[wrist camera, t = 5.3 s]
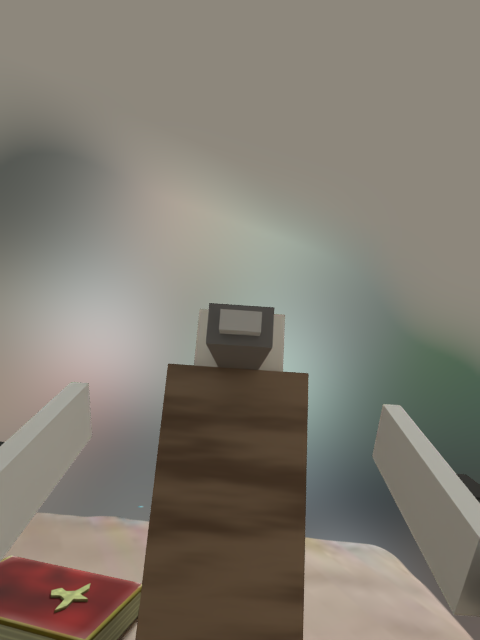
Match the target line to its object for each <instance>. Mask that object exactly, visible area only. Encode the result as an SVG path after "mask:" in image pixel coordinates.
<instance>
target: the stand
mask: <svg viewBox="0 0 480 640" xmlns="http://www.w3.org/2000/svg"><path fill="white" fill-rule="evenodd" d="M307 417H308V373H295V372H280V371H266V370H252V369H237V368H223V367H208V366H194V365H179V364H168V370H167V378H166V386H165V395H164V403H163V412H162V420H161V428H160V437H159V445H158V454H157V463H156V472H155V480H154V488H153V497H152V505H151V514H150V521H149V530H148V538H147V547H146V555H145V564H144V572H143V581H142V589H141V597H140V606H139V614H138V623H137V631H136V640H303V611H304V563H305V515H306V465H307V463H306V462H307Z"/></svg>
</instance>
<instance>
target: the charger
mask: <svg viewBox="0 0 480 640" xmlns="http://www.w3.org/2000/svg"><path fill="white" fill-rule="evenodd" d="M284 326H285V315H279V314H274V308H273V307H258V306H243V305H229V304H214V303H209V310H207V309H200V311H199V321H198V331H197V341H196V350H195V360H194V366H208V367H223V368H237V369H252V370H266V371H280V372H283V352H284Z"/></svg>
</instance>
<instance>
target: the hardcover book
mask: <svg viewBox="0 0 480 640" xmlns="http://www.w3.org/2000/svg"><path fill="white" fill-rule="evenodd" d="M141 589H142V583H137V582H132V581H128V580H123V579H118V578H114V577H109V576H104V575H100V574H95V573H90V572H86V571H81V570H76V569H72V568H67V567H62V566H58V565H53V564H48V563H44V562H39V561H34V560H30V559H25V558H20V557H16V556H9V557H7V558H5V559H3V560H1V562H0V640H117V639H118V638H119V637H120V636H121V635H122V633H123V632H124V631H125V630H126V629H127V628H128V627H129V626H130V624H131V623H132V622H133V621H134V620H135V619H136V618H137V617H138V614H139V606H140V597H141Z"/></svg>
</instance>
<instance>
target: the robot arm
mask: <svg viewBox="0 0 480 640" xmlns="http://www.w3.org/2000/svg"><path fill="white" fill-rule="evenodd" d="M91 437H92V427H91V413H90V398H89V384H88V383H78V382H71V383H70V384H69V385H68V386H67V387H65V388H64V389H63V390H62V391H61V392H60V393H59V394H58V395H57V396H56V397H54V398H53V399H52V400H51V401H50V402H49V403H48V404H47V405H46V406H44V407H43V408H42V409H41V410H40V411H39V412H38V413H37V414H36V415H34V416H33V417H32V418H31V419H30V420H29V421H28V422H27V423H26V424H25V425H24V426H22V427H21V428H20V429H19V430H18V431H17V432H16V433H15V434H13V435H12V436H11V437H10V438H9V439H8V440H7V441H6V442H0V562H1V560H2V559H3V557H4V556H5V555H6V553H7V552H8V551H9V549H10V548H11V547H12V545H13V544H14V542H15V541H16V540H17V538H18V537H19V536H20V534H21V533H22V532H23V530H24V529H25V527H26V526H27V525H28V523H29V522H30V521H31V519H32V518H33V517H34V515H35V514H36V512H37V511H38V510H39V508H40V507H41V506H42V504H43V503H44V502H45V500H46V499H47V497H48V496H49V495H50V493H51V492H52V491H53V489H54V488H55V486H56V485H57V484H58V482H59V481H60V480H61V478H62V477H63V476H64V474H65V473H66V472H67V470H68V469H69V467H70V466H71V465H72V463H73V462H74V461H75V459H76V458H77V456H78V455H79V454H80V452H81V451H82V450H83V448H84V447H85V446H86V444H87V443H88V441H89V440H90V439H91ZM372 457H373V459H374V461H375V463H376V465H377V467H378V469H379V471H380V473H381V474H382V477H383V478H384V480H385V482H386V484H387V486H388V488H389V490H390V491H391V494H392V496H393V498H394V500H395V502H396V504H397V505H398V508H399V509H400V511H401V513H402V515H403V517H404V519H405V521H406V523H407V525H408V527H409V529H410V531H411V533H412V535H413V537H414V538H415V540H416V542H417V544H418V546H419V548H420V550H421V552H422V554H423V556H424V558H425V559H426V562H427V564H428V566H429V567H430V570H431V571H432V573H433V575H434V577H435V579H436V581H437V583H438V585H439V587H440V589H441V591H442V593H443V594H444V597H445V599H446V601H447V602H448V604H449V606H450V608H451V610H452V612H453V614H454V615H463V616H476V617H480V485H479V484H478V483H477V482H475V481H474V480H473V479H471V478H470V477H469V476H467V475H464V474H456V473H455V472H454V471H453V470H452V468H451V467H450V466H449V465H448V464H447V462H446V461H445V460H444V459H443V457H442V456H441V455H440V454H439V452H438V451H437V450H436V449H435V447H434V446H433V445H432V444H431V443H430V441H429V440H428V439H427V438H426V436H425V435H424V434H423V433H422V431H421V430H420V429H419V428H418V426H417V425H416V424H415V423H414V422H413V420H412V419H411V418H410V417H409V415H408V414H407V413H406V412H405V411H404V409H403V408H402V407H401V406H400V405H388V404H383V406H382V411H381V416H380V422H379V426H378V431H377V436H376V441H375V446H374V451H373V456H372Z"/></svg>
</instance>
